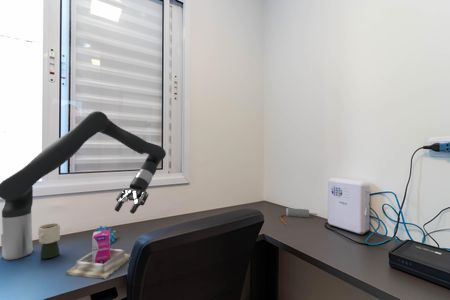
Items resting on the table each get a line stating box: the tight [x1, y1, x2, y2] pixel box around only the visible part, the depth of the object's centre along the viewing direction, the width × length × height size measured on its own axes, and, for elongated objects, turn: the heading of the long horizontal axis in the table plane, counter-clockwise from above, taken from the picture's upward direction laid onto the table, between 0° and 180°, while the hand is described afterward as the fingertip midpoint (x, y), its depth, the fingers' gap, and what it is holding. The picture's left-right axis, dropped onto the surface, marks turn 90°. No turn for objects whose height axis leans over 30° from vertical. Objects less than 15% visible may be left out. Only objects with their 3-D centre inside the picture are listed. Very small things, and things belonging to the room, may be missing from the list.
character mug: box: [37, 222, 61, 259], centre depth 96 cm, size 11×7×13 cm, turn 2°
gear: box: [95, 225, 116, 245], centre depth 110 cm, size 11×6×10 cm
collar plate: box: [65, 248, 131, 280], centre depth 89 cm, size 16×16×4 cm
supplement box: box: [91, 229, 111, 264], centre depth 89 cm, size 6×6×12 cm
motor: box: [279, 207, 318, 226], centre depth 138 cm, size 23×22×5 cm
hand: (123, 211), depth 100 cm, fingers open, 8 cm apart
